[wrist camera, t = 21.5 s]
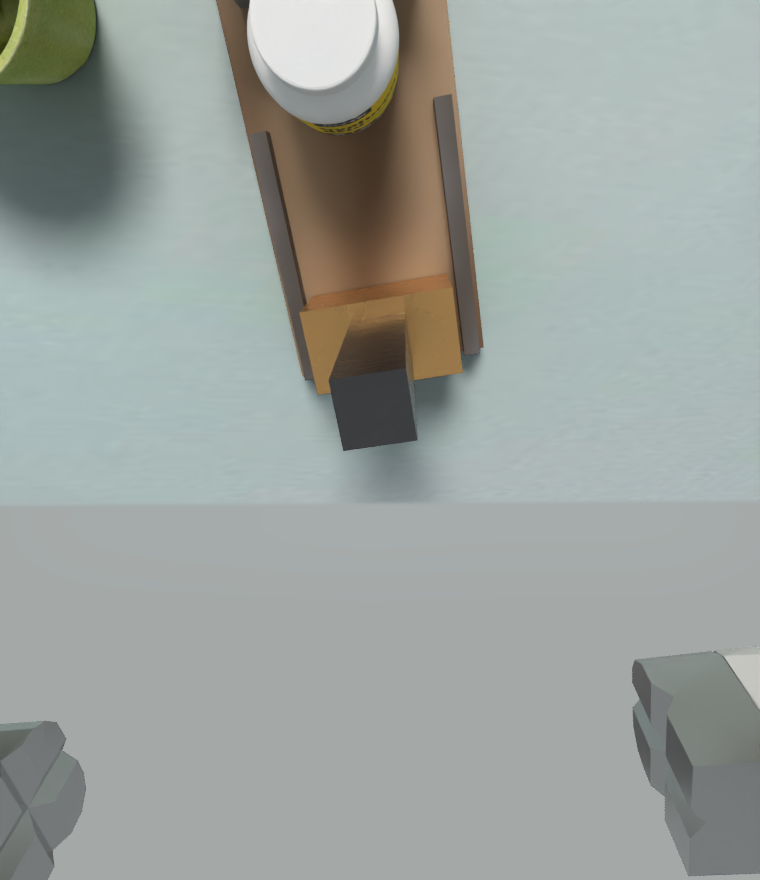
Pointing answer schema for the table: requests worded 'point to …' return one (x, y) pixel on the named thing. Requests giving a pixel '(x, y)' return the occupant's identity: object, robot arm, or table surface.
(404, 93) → the frame
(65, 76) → the plant pot
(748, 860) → the robot arm
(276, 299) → the table surface
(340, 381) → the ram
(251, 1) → the supplement bottle
